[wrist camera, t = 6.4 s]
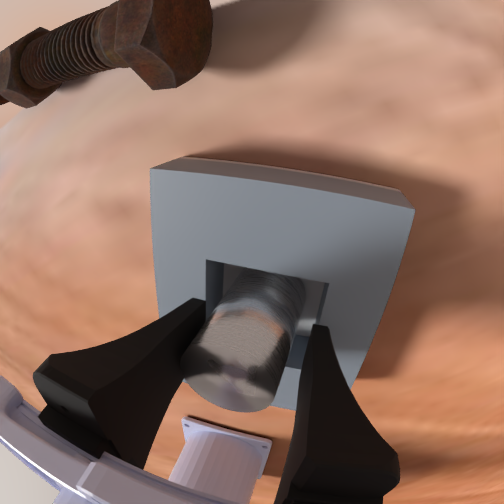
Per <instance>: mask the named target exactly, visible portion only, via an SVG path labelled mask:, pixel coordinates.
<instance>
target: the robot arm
mask: <svg viewBox="0 0 504 504" xmlns="http://www.w3.org/2000/svg"><path fill="white" fill-rule="evenodd" d="M205 322H206V301H205V300H201V299H197V298H191V299H189V300H188V301H186V302H185V303H183V304H182V305H180V306H178V307H177V308H175V309H174V310H172V311H171V312H169V313H168V314H166V315H164V316H163V317H161V318H159V319H158V320H156V321H154V322H152V323H151V324H149V325H147V326H145V327H143V328H141V329H140V330H138V331H136V332H133V333H131V334H129V335H127V336H124V337H122V338H119V339H117V340H114V341H111V342H108V343H105V344H102V345H99V346H95V347H92V348H88V349H83V350H78V351H73V352H66V353H58V354H51V355H50V356H49V357H48V358H47V359H46V360H45V361H44V362H43V363H42V364H41V365H40V366H39V367H38V369H37V370H36V371H35V372H34V373H33V380H34V383H35V385H36V387H37V389H38V390H39V392H40V394H41V395H42V397H43V399H44V400H45V402H46V403H47V406H46V407H45V408H44V409H43V411H42V412H40V411H38V410H37V409H36V408H34V407H33V406H32V405H30V404H29V403H28V402H26V401H25V400H24V399H23V397H22V395H21V393H20V392H19V391H18V389H17V388H16V387H15V386H14V385H12V384H11V383H10V382H9V381H8V380H6V379H5V378H4V377H3V376H0V442H1V443H2V444H3V445H4V446H5V447H6V448H7V449H8V450H9V451H10V452H12V453H13V454H14V455H15V456H16V457H17V458H18V459H19V460H21V461H22V462H23V463H24V464H25V465H27V466H28V467H29V468H30V469H31V470H33V471H34V472H35V473H36V474H38V475H39V476H40V477H42V478H43V479H44V480H45V481H46V482H48V483H49V484H50V485H52V486H53V487H55V488H56V489H57V490H59V491H60V493H59V494H58V496H57V497H56V499H55V500H54V502H53V504H249V502H250V499H251V496H252V493H253V490H254V486H255V483H256V480H257V479H260V478H261V476H262V473H263V470H264V467H265V464H266V461H267V458H268V455H269V452H270V449H271V446H272V441H271V440H269V439H266V438H262V437H257V436H253V435H249V434H245V433H241V432H237V431H233V430H229V429H226V428H222V427H219V426H215V425H212V424H209V423H205V422H202V421H199V420H196V419H193V418H190V417H183V418H182V426H183V431H184V436H185V441H186V443H185V446H184V448H183V450H182V452H181V454H180V456H179V458H178V460H177V462H176V464H175V466H174V468H173V470H172V472H171V474H170V476H169V478H168V480H166V479H164V478H161V477H159V476H156V475H154V474H151V473H149V472H147V471H144V470H143V469H144V466H145V463H146V460H147V458H148V455H149V452H150V449H151V447H152V444H153V441H154V439H155V436H156V434H157V431H158V429H159V427H160V424H161V422H162V420H163V417H164V415H165V413H166V411H167V408H168V406H169V404H170V402H171V400H172V398H173V396H174V394H175V393H176V391H177V389H178V388H179V386H180V384H181V383H182V381H183V379H184V376H183V374H182V371H181V367H180V361H181V357H182V355H183V354H184V352H185V351H186V349H187V348H188V346H189V345H190V344H191V342H192V341H193V339H194V338H195V336H196V335H197V334H198V332H199V331H200V329H201V328H202V326H203V325H204V324H205ZM399 481H400V466H399V460H398V455H397V453H396V452H395V451H394V449H393V448H392V447H391V446H390V445H389V444H388V443H387V442H386V441H385V440H384V439H383V438H382V437H381V436H380V434H379V433H378V432H377V431H376V429H375V428H374V427H373V425H372V424H371V423H370V421H369V420H368V418H367V417H366V415H365V414H364V413H363V411H362V410H361V408H360V406H359V405H358V403H357V401H356V399H355V398H354V396H353V394H352V392H351V390H350V388H349V386H348V384H347V382H346V379H345V377H344V375H343V372H342V370H341V367H340V365H339V362H338V359H337V356H336V353H335V350H334V347H333V343H332V339H331V335H330V329H329V328H328V326H323V325H317V324H313V325H312V329H311V333H310V337H309V340H308V344H307V348H306V352H305V355H304V359H303V364H302V369H301V373H300V378H299V387H298V396H297V406H296V415H295V424H294V430H293V435H292V439H291V443H290V447H289V451H288V455H287V459H286V463H285V467H284V470H283V474H282V478H281V481H280V485H279V488H278V492H277V495H276V498H275V501H274V504H383V496H384V495H386V494H387V493H388V492H389V491H391V490H392V489H393V488H395V487H396V486H397V484H398V483H399Z"/></svg>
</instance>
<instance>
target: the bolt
mask: <svg viewBox="0 0 504 504" xmlns="http://www.w3.org/2000/svg"><path fill="white" fill-rule="evenodd" d="M212 27H213V19H212V11H211V5H210V1H209V0H119V1H116V2H114V3H113V4H111V5H110V6H108V7H105V8H102V9H100V10H97V11H95V12H93V13H90V14H87V15H85V16H82V17H80V18H77V19H75V20H72V21H71V22H68V23H66V24H64V25H62V26H60V27H58V28H56V29H54V30H52V31H49V30H47V29H44V28H42V27H39V28H37V29H36V30H34V31H32V32H31V33H29V34H27V35H26V36H24V37H22V38H21V39H19V40H18V41H16V42H15V43H13V44H11V45H10V46H8V47H7V48H5V49H4V50H3V51H1V52H0V105H2V104H5V103H7V102H12V103H14V104H16V105H19V106H21V107H24V108H30V107H33V106H36V105H37V104H39V103H40V102H41V101H43V100H44V99H45V98H47V97H48V96H49V95H51V94H52V93H53V92H54V91H55V90H56V89H57V88H59V86H60V85H61V84H62V82H65V81H68V80H71V79H74V78H79V77H82V76H85V75H90V74H93V73H98V72H101V71H106V70H111V69H115V68H119V67H121V68H128V67H131V68H132V69H133V70H134V71H135V72H136V73H137V74H138V75H139V76H140V77H141V78H142V79H143V80H144V81H145V83H146V84H147V85H148V86H149V87H150V88H151V89H152V90H159V89H169V88H177V87H179V86H180V85H182V84H184V83H186V82H188V81H189V80H191V79H192V78H193V77H195V76H196V75H197V74H198V73H200V72H201V71H202V69H203V67H204V65H205V62H206V60H207V57H208V55H209V51H210V48H211V38H212Z"/></svg>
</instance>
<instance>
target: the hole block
mask: <svg viewBox="0 0 504 504" xmlns="http://www.w3.org/2000/svg"><path fill="white" fill-rule="evenodd" d="M150 200H151V225H152V242H153V257H154V270H155V281H156V291H157V301H158V310H159V318H161V317H163V316H164V315H166V314H168V313H169V312H171V311H172V310H174V309H175V308H177V307H178V306H180V305H182V304H183V303H185V302H186V301H188V300H189V299H191V298H197V299H201V300H205V301H206V321H207V319H208V318H209V316H210V315H211V314H212V312H213V311H214V309H215V308H216V306H217V305H218V303H219V302H220V301H221V299H222V298H223V296H224V295H225V293H226V292H227V291H228V289H229V288H230V286H231V285H232V283H233V282H234V280H235V279H236V278H237V276H238V275H239V273H240V272H241V271H242V269H243V268H245V267H247V268H252V269H257V270H262V271H267V272H273V273H278V274H283V275H288V276H293V277H298V278H300V279H301V280H302V282H303V284H304V287H305V291H306V301H305V305H304V308H303V311H302V315H301V318H300V321H299V325H298V328H297V331H296V335H295V338H294V341H293V344H292V347H291V350H290V354H289V357H288V360H287V363H286V366H285V369H284V372H283V375H282V378H281V381H280V384H279V387H278V390H277V393H276V396H275V398H274V401H273V402H272V404H271V405H270V406H275V407H280V408H285V409H290V410H295V411H296V406H297V396H298V387H299V378H300V373H301V369H302V364H303V359H304V355H305V352H306V348H307V344H308V340H309V337H310V333H311V329H312V325H313V324H317V325H323V326H328V328H329V329H330V335H331V339H332V343H333V347H334V350H335V353H336V356H337V359H338V362H339V365H340V367H341V370H342V372H343V375H344V377H345V379H346V382H347V384H348V386H349V388H350V389H351V387H352V385H353V383H354V381H355V379H356V376H357V374H358V372H359V370H360V368H361V366H362V363H363V361H364V359H365V357H366V354H367V352H368V350H369V347H370V345H371V343H372V340H373V338H374V335H375V333H376V330H377V328H378V325H379V323H380V320H381V318H382V315H383V312H384V310H385V307H386V304H387V302H388V299H389V296H390V293H391V290H392V288H393V285H394V282H395V279H396V276H397V273H398V270H399V266H400V263H401V260H402V257H403V254H404V250H405V247H406V244H407V240H408V237H409V233H410V229H411V226H412V222H413V218H414V214H415V208H414V207H413V206H412V205H411V203H410V202H409V201H408V200H407V198H406V197H405V196H404V195H403V193H402V192H401V191H400V190H399V189H395V188H391V187H387V186H382V185H377V184H373V183H368V182H363V181H358V180H353V179H348V178H342V177H337V176H332V175H326V174H320V173H314V172H308V171H302V170H296V169H289V168H282V167H275V166H268V165H260V164H252V163H244V162H236V161H226V160H217V159H206V158H195V157H180V158H178V159H175V160H172V161H169V162H166V163H164V164H161V165H158V166H155V167H153V168H150ZM182 382H185V383H187V381H186V380H185V378H184V379H183V381H182Z"/></svg>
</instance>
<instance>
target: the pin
mask: <svg viewBox="0 0 504 504" xmlns="http://www.w3.org/2000/svg"><path fill="white" fill-rule="evenodd" d="M305 301H306V291H305V287H304V284H303V282H302V280H301V279H300V278H298V277H293V276H288V275H283V274H278V273H273V272H267V271H262V270H257V269H252V268H247V267H245V268H243V269H242V271H241V272H240V273H239V275H238V276H237V278H236V279H235V280H234V282H233V283H232V285H231V286H230V288H229V289H228V291H227V292H226V293H225V295H224V296H223V298H222V299H221V301H220V302H219V303H218V305H217V306H216V308H215V309H214V311H213V312H212V314H211V315H210V316H209V318H208V319H207V321H206V322H205V324H204V325H203V326H202V328H201V329H200V331H199V332H198V334H197V335H196V336H195V338H194V339H193V341H192V342H191V344H190V345H189V346H188V348H187V349H186V351H185V352H184V354H183V355H182V357H181V361H180V367H181V371H182V374H183V376H184V378H185V380H186V381H187V383H188V384H189V385H190V387H191V388H192V389H193V390H194V391H195V392H197V393H198V394H199V395H200V396H201V397H203V398H204V399H206V400H207V401H209V402H211V403H213V404H215V405H217V406H219V407H222V408H225V409H228V410H232V411H237V412H256V411H260V410H263V409H265V408H267V407H268V406H270V405H271V404H272V402H273V401H274V398H275V396H276V393H277V390H278V387H279V384H280V381H281V378H282V375H283V372H284V369H285V366H286V363H287V360H288V357H289V354H290V350H291V347H292V344H293V341H294V338H295V335H296V331H297V328H298V325H299V321H300V318H301V315H302V311H303V308H304V305H305Z"/></svg>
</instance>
